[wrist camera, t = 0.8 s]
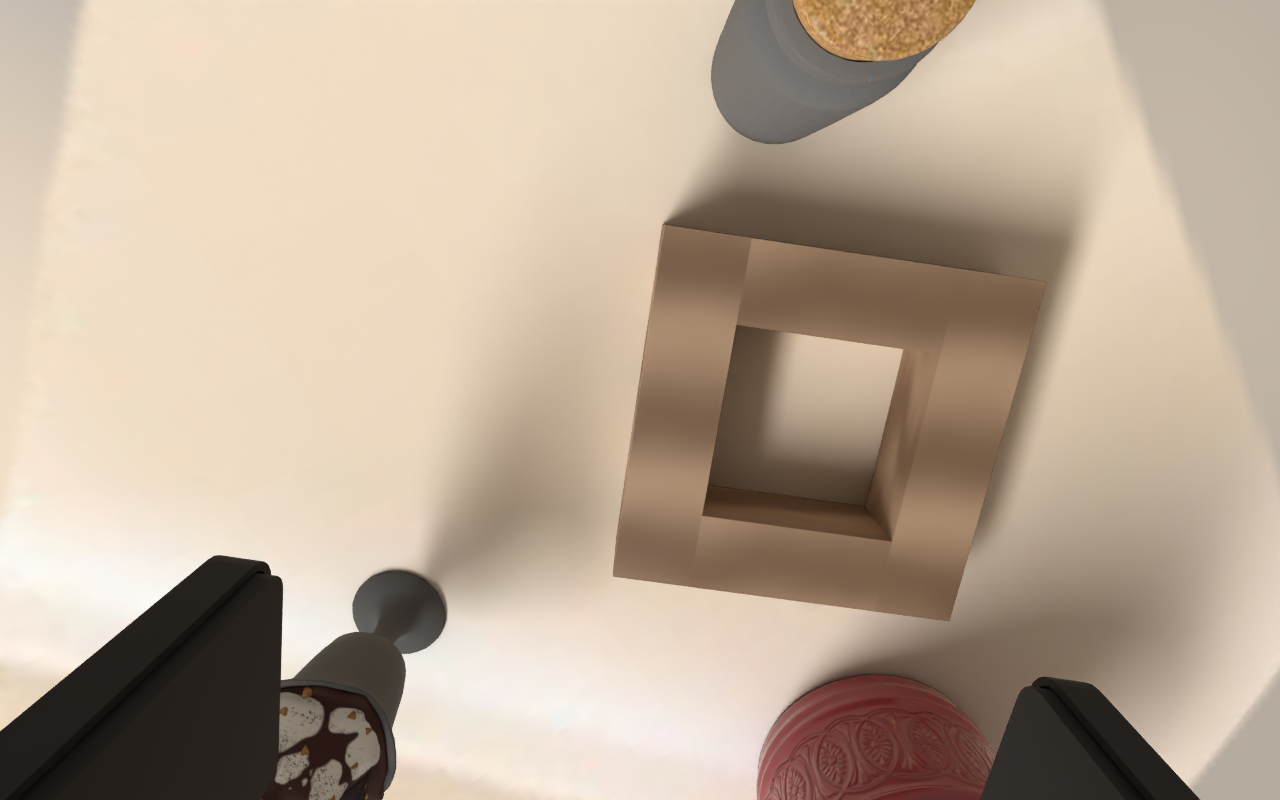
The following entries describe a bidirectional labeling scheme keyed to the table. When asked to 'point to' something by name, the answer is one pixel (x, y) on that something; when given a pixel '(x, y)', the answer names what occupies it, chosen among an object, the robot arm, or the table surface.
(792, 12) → the bottle
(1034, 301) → the collar block
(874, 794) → the canister
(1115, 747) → the robot arm
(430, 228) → the table surface
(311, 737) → the sundae
